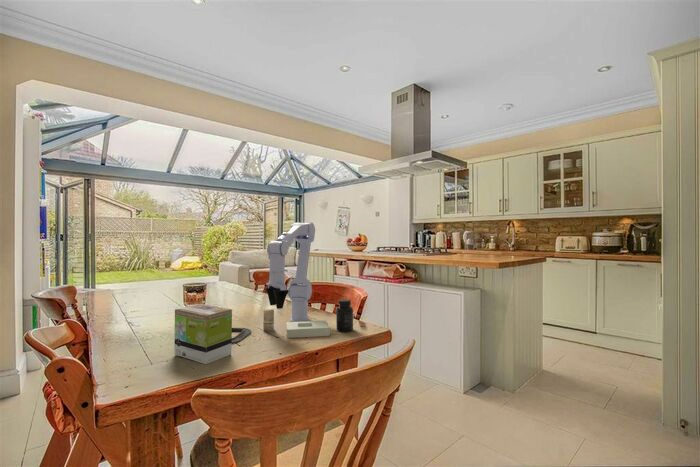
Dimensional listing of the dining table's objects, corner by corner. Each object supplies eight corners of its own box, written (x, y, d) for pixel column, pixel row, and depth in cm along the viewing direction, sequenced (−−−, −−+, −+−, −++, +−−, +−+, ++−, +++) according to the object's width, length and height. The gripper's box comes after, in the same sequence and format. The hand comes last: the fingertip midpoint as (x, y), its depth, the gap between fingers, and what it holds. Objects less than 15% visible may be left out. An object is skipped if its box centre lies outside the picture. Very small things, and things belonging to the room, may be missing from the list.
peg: (263, 328, 133) (263, 309, 133) (273, 328, 134) (274, 308, 134) (262, 331, 129) (263, 311, 129) (273, 331, 130) (273, 311, 130)
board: (286, 329, 133) (286, 322, 133) (325, 327, 136) (326, 320, 136) (286, 337, 122) (286, 329, 122) (329, 335, 125) (329, 327, 125)
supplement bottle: (353, 328, 136) (354, 298, 136) (352, 332, 129) (352, 302, 129) (337, 327, 137) (337, 298, 137) (335, 332, 130) (335, 301, 130)
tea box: (172, 356, 102) (173, 308, 102) (200, 346, 111) (201, 302, 111) (205, 365, 95) (206, 314, 95) (232, 354, 104) (233, 307, 104)
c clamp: (229, 349, 110) (229, 341, 110) (183, 346, 113) (183, 338, 113) (257, 332, 130) (257, 325, 130) (217, 329, 133) (217, 323, 133)
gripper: (261, 270, 133) (260, 304, 132) (273, 273, 120) (272, 311, 120) (278, 270, 136) (277, 303, 136) (291, 273, 124) (290, 309, 124)
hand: (276, 306), depth 128 cm, fingers open, 7 cm apart
